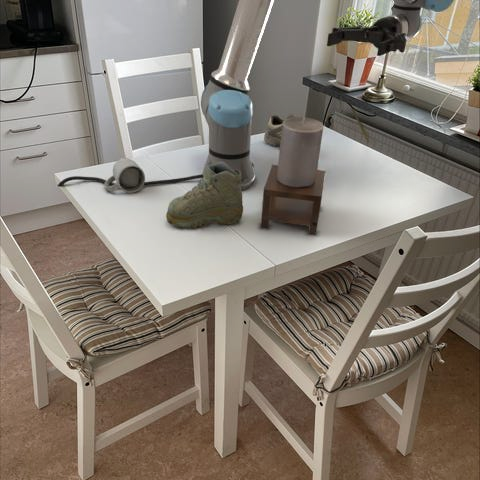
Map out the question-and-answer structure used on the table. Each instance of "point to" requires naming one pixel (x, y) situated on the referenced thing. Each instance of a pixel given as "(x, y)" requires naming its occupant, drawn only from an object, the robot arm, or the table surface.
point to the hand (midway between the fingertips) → (353, 44)
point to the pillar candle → (299, 151)
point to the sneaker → (209, 199)
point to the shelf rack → (292, 202)
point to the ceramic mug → (126, 176)
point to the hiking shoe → (274, 130)
